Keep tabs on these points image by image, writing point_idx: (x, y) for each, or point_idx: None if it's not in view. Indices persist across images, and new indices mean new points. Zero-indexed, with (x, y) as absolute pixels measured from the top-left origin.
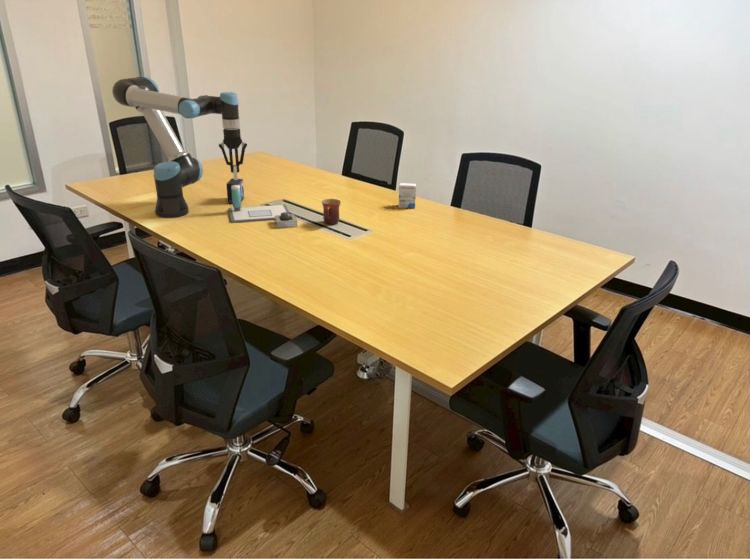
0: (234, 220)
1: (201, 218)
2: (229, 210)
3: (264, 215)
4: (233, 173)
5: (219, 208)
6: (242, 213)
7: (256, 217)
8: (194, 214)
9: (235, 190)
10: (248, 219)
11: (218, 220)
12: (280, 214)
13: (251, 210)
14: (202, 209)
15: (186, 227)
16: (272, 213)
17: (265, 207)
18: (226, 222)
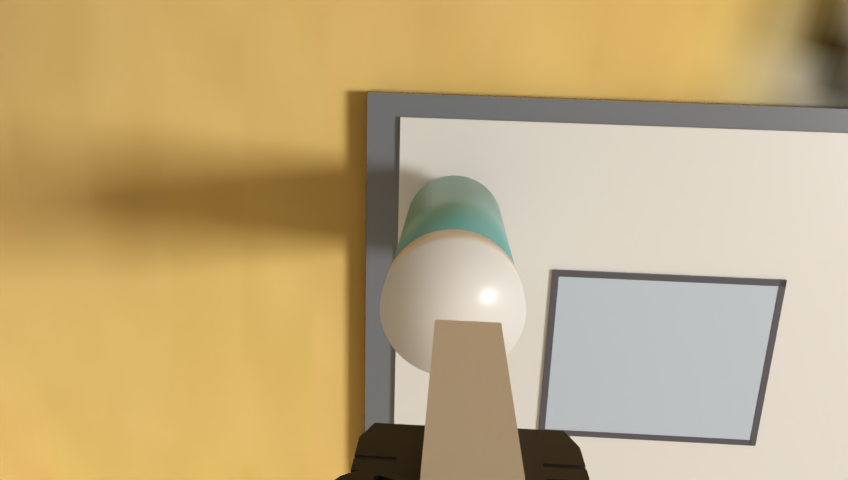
0: None
1: (110, 293)
2: (374, 177)
3: (681, 431)
4: (429, 381)
5: (279, 15)
6: None
7: (596, 457)
8: (34, 158)
9: None
10: None
11: (261, 383)
12: (838, 435)
13: (595, 248)
14: (100, 6)
15: (9, 477)
16: (774, 389)
17: (766, 184)
18: (326, 448)
